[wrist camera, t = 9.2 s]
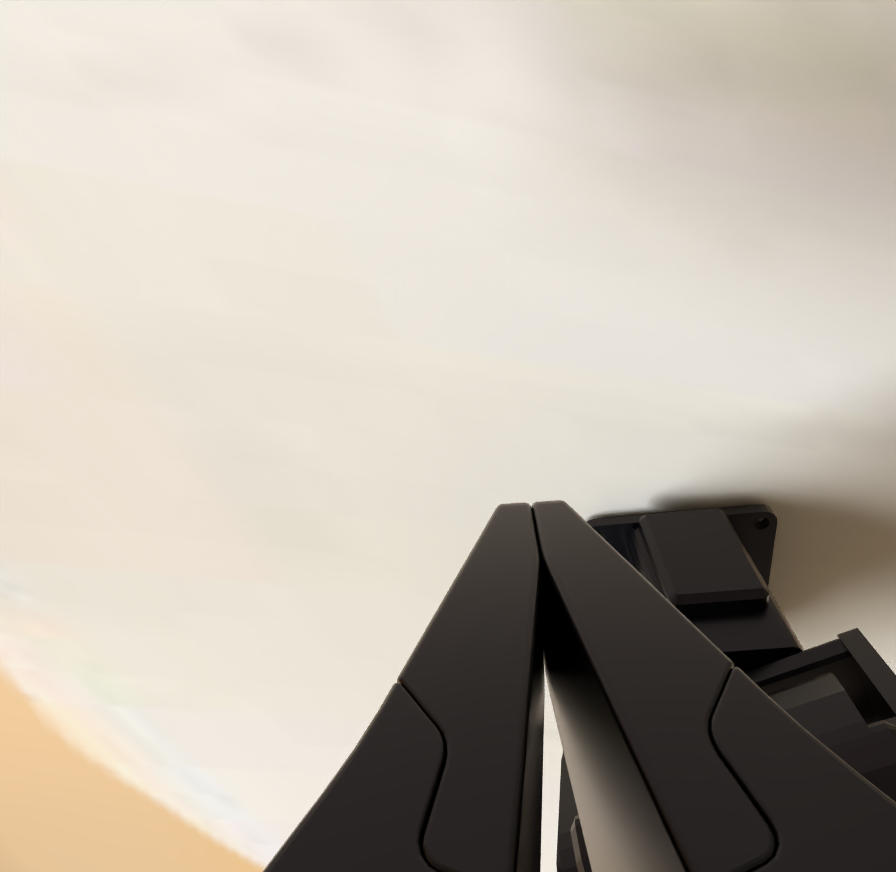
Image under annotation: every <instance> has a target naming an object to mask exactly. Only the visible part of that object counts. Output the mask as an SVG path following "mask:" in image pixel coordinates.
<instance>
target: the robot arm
mask: <svg viewBox="0 0 896 872" xmlns="http://www.w3.org/2000/svg"><path fill="white" fill-rule="evenodd" d="M762 517H764V519H763V520H762V521H760V522H757V523H756V522H755V521H756V520H757V519H759V518H762ZM776 527H777V518H776V516H775V515H774V513H773V512H772V510H771V509H770V508H769V507H768V506H766V505H748V506H737V507H725V508H711V509H699V510H688V511H676V512H665V513H654V514H645V515H634V516H623V517H611V518H600V519H593V520H589V521H587V522H586V521H585V520H584V519H583V518H582V517H581V516H580V515H579V514H578V513H576V512H575V511H574V510H573V509H572V508H571V507H570V506H569V505H568V504H567V503H566V502H564V501H561V500H558V501H543V502H535V503H534V504H533V505H532V509H531V506H530V505H529V504H528V503H511V504H500V505H499V506H498V507H497V508H496V510H495V511H494V513H493V515H492V517H491V518H490V520H489V522H488V523H487V525H486V527H485V529H484V530H483V532H482V534H481V535H480V537H479V539H478V541H477V542H476V544H475V546H474V548H473V549H472V551H471V553H470V554H469V556H468V558H467V560H466V561H465V563H464V565H463V566H462V568H461V570H460V572H459V573H458V575H457V577H456V579H455V580H454V582H453V584H452V585H451V587H450V589H449V591H448V592H447V594H446V596H445V597H444V599H443V601H442V603H441V604H440V606H439V608H438V610H437V611H436V613H435V615H434V616H433V618H432V620H431V622H430V623H429V625H428V627H427V628H426V630H425V632H424V634H423V635H422V637H421V639H420V641H419V642H418V644H417V646H416V647H415V649H414V651H413V653H412V654H411V656H410V658H409V659H408V661H407V663H406V665H405V666H404V668H403V670H402V672H401V673H400V675H399V677H398V679H397V683H395V684H394V685H393V686H392V688H391V690H390V692H389V693H388V695H387V697H386V698H385V700H384V702H383V704H382V705H381V707H380V709H379V711H378V712H377V714H376V715H375V717H374V719H373V720H372V722H371V723H370V725H369V726H368V728H367V730H366V731H365V733H364V734H363V736H362V738H361V739H360V741H359V742H358V744H357V746H356V747H355V749H354V750H353V752H352V753H351V754H350V756H349V757H348V758H347V760H346V761H345V763H344V764H343V765H342V767H341V768H340V770H339V771H338V772H337V774H336V775H335V776H334V778H333V779H332V781H331V782H330V783H329V785H328V786H327V788H326V789H325V790H324V792H323V793H322V794H321V796H320V797H319V798H318V800H317V801H316V802H315V804H314V805H313V806H312V808H311V809H310V810H309V812H308V813H307V814H306V815H305V817H304V818H303V819H302V821H301V822H300V823H299V825H298V826H297V827H296V829H295V830H294V831H293V833H292V834H291V835H290V837H289V838H288V839H287V840H286V842H285V843H284V844H283V846H282V847H281V848H280V850H279V851H278V852H277V854H276V855H275V856H274V858H273V859H272V860H271V861H270V863H269V864H268V865H267V867H266V868H265V869H264V871H263V872H540V860H541V818H542V776H543V734H544V665H545V672H546V678H547V683H548V688H549V692H550V697H551V701H552V705H553V709H554V714H555V718H556V722H557V726H558V730H559V735H560V739H561V743H562V747H563V756H562V759H561V780H560V801H559V821H558V842H557V872H896V675H895V674H894V673H893V671H892V670H891V669H890V668H889V666H888V665H887V664H886V663H885V661H884V660H883V659H882V658H881V657H880V655H879V654H878V653H877V652H876V650H875V649H874V648H873V647H872V645H871V644H870V643H869V642H868V641H867V639H866V638H865V637H864V636H863V634H862V633H861V632H860V631H859V629H858V628H856V629H853V630H850V631H847V632H844V633H841V634H839V635H837V637H838V639H836V640H833V641H830V642H827V643H824V644H821V645H819V646H816V647H813V648H810V649H807V650H804V649H803V648H802V646H801V644H800V642H799V641H798V639H797V637H796V635H795V634H794V632H793V630H792V628H791V627H790V625H789V623H788V621H787V620H786V618H785V616H784V614H783V613H782V611H781V609H780V607H779V606H778V604H777V602H776V600H775V599H774V597H773V595H772V593H771V592H770V590H769V588H768V583H769V576H770V569H771V562H772V555H773V548H774V541H775V534H776ZM597 532H601V534H600V535H599V534H598V533H597Z"/></svg>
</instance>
